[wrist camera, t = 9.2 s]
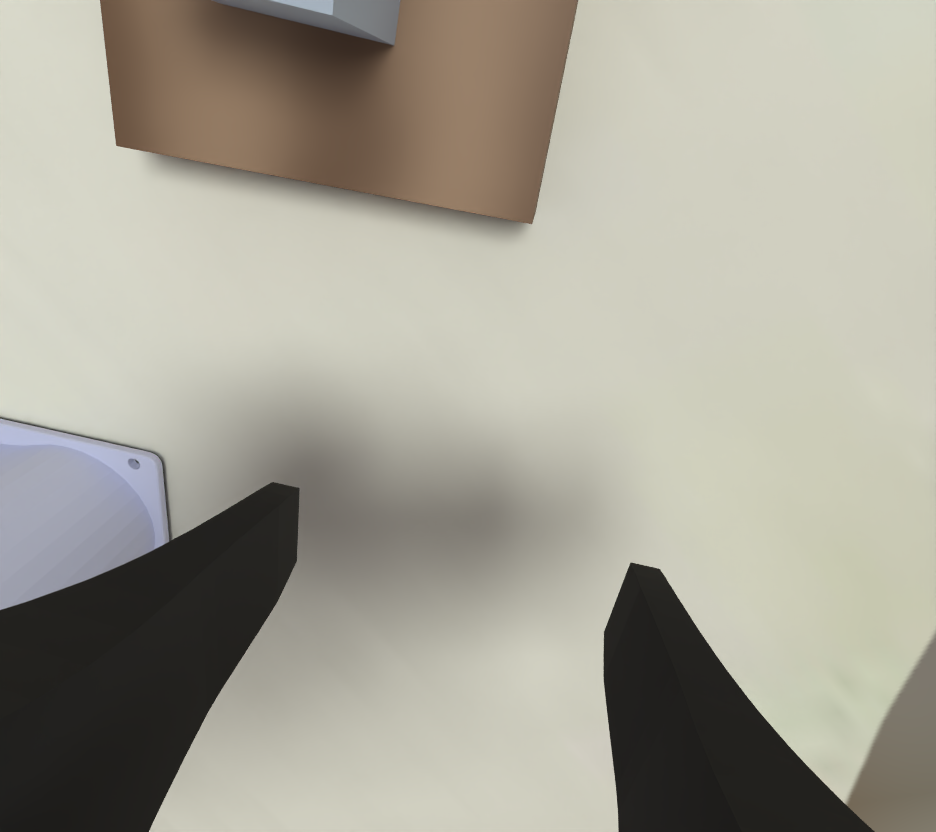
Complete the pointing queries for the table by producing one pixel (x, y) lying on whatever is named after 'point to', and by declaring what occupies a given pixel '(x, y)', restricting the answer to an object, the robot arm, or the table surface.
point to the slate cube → (333, 15)
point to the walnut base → (349, 96)
